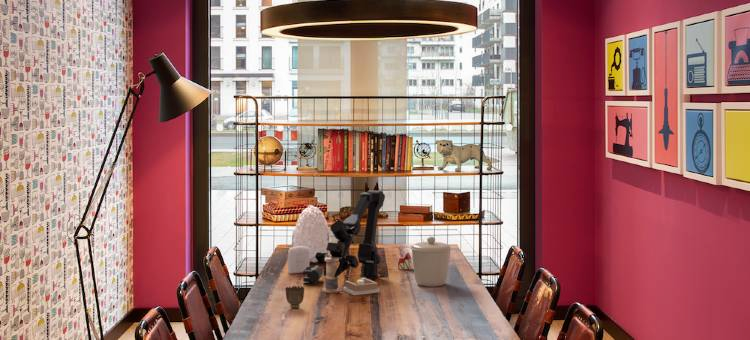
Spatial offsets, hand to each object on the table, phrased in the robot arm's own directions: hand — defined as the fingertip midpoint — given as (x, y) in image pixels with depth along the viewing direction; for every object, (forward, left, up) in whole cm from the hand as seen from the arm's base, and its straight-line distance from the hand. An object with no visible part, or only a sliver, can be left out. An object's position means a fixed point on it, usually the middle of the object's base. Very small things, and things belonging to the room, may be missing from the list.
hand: (329, 276), depth 363 cm
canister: (-45, +7, -7) cm, 46 cm away
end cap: (-1, -20, -7) cm, 21 cm away
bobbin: (-1, -1, -6) cm, 7 cm away
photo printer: (-4, -43, -7) cm, 44 cm away
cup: (+24, +19, -7) cm, 31 cm away
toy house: (-51, -28, -7) cm, 58 cm away
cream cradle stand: (-12, +5, -7) cm, 15 cm away
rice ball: (-21, -67, -7) cm, 71 cm away
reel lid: (-20, -8, -7) cm, 23 cm away
